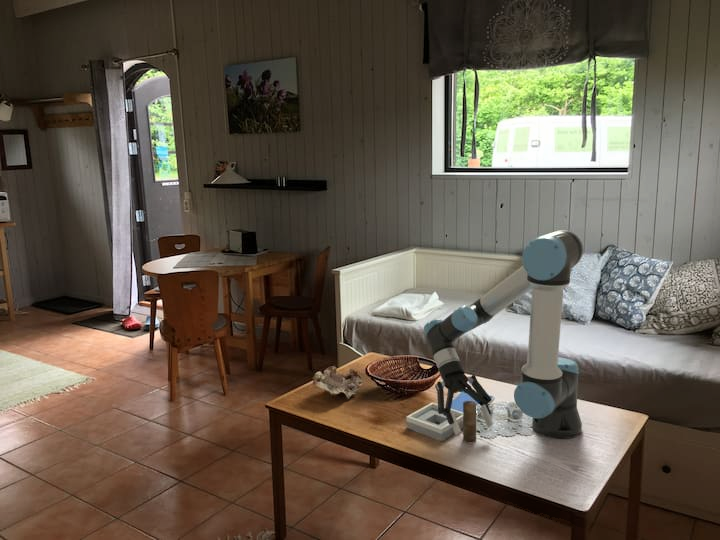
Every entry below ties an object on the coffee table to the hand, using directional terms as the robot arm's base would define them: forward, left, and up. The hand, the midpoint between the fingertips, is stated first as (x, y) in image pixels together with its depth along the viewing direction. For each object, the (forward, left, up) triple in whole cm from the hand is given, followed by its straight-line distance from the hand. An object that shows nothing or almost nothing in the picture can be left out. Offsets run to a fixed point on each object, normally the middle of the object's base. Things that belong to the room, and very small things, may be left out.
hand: (474, 429), depth 186 cm
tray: (+16, -2, -5) cm, 16 cm away
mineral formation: (+59, 0, -5) cm, 59 cm away
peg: (+3, -1, -5) cm, 5 cm away
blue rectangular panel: (+17, -22, -5) cm, 28 cm away
